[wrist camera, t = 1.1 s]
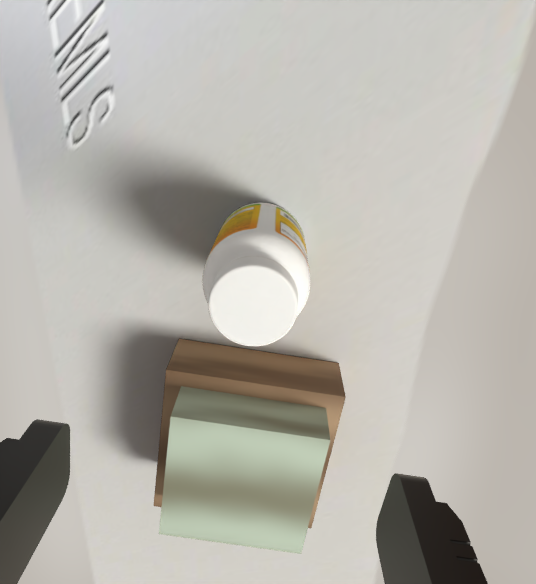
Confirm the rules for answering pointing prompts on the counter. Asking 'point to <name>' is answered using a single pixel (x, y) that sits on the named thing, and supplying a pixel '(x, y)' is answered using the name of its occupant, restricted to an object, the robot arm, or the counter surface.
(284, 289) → the supplement bottle
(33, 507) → the robot arm
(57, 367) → the counter surface
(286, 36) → the counter surface
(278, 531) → the podium
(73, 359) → the counter surface
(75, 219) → the counter surface
